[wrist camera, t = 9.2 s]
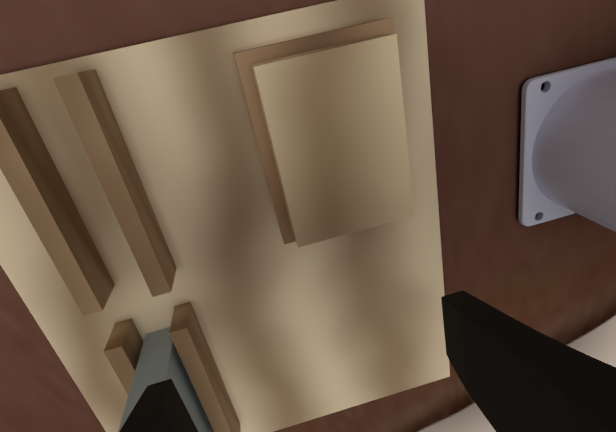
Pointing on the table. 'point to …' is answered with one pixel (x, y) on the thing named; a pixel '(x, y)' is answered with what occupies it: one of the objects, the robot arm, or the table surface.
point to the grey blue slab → (164, 377)
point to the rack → (212, 231)
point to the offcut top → (338, 136)
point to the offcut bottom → (254, 106)
